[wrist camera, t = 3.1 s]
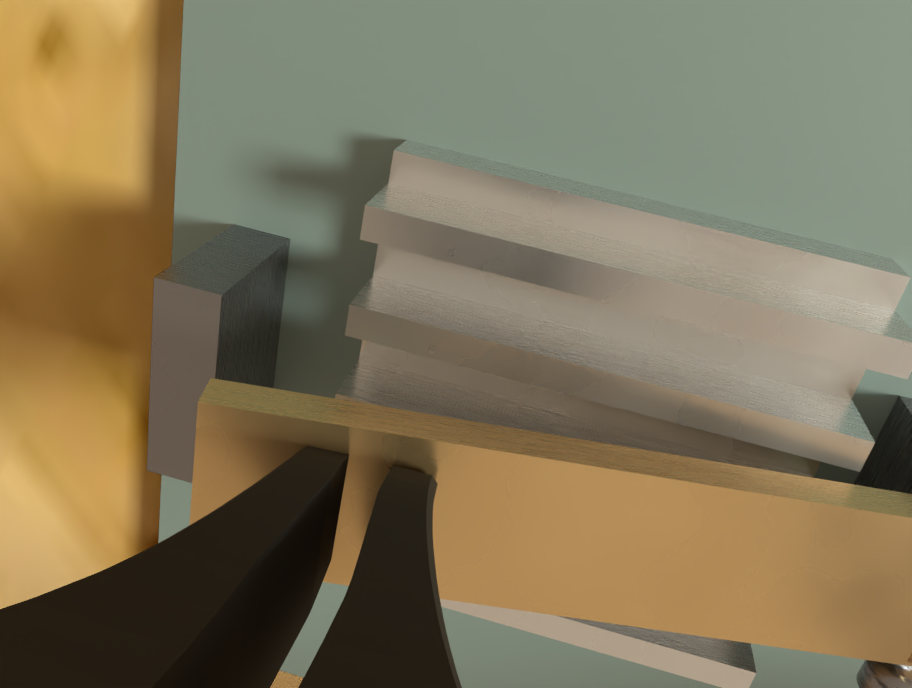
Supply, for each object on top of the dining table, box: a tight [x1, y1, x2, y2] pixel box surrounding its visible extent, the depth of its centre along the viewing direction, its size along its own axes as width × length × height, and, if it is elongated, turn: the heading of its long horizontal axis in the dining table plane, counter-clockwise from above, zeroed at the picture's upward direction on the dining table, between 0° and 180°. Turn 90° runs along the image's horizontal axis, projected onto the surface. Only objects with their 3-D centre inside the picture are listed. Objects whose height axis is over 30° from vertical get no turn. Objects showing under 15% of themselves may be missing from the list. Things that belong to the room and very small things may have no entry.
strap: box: [189, 378, 912, 666], centre depth 13 cm, size 3×13×1 cm, turn 78°
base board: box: [158, 0, 912, 688], centre depth 17 cm, size 20×18×1 cm
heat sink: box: [147, 140, 912, 688], centre depth 15 cm, size 9×15×3 cm, turn 79°
